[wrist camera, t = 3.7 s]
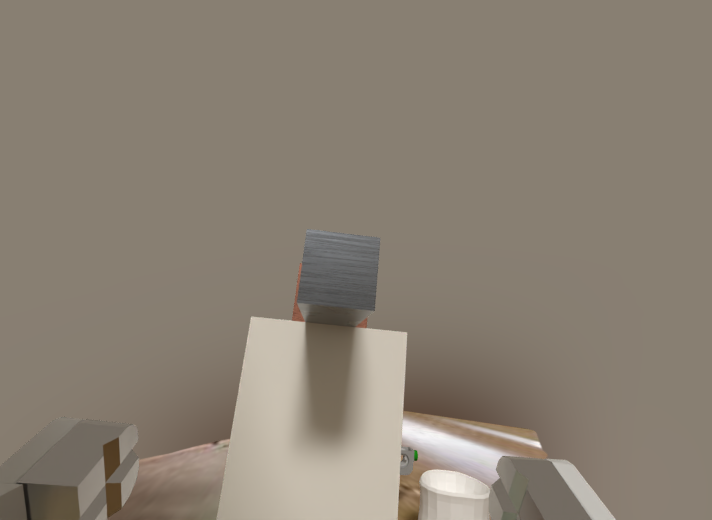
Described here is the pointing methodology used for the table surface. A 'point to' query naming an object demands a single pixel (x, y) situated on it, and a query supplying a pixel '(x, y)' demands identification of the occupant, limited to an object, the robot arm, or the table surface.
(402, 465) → the mechanical component
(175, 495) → the table surface
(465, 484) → the cup
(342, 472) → the cream block
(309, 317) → the grey long block
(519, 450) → the table surface
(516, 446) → the table surface
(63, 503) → the robot arm
